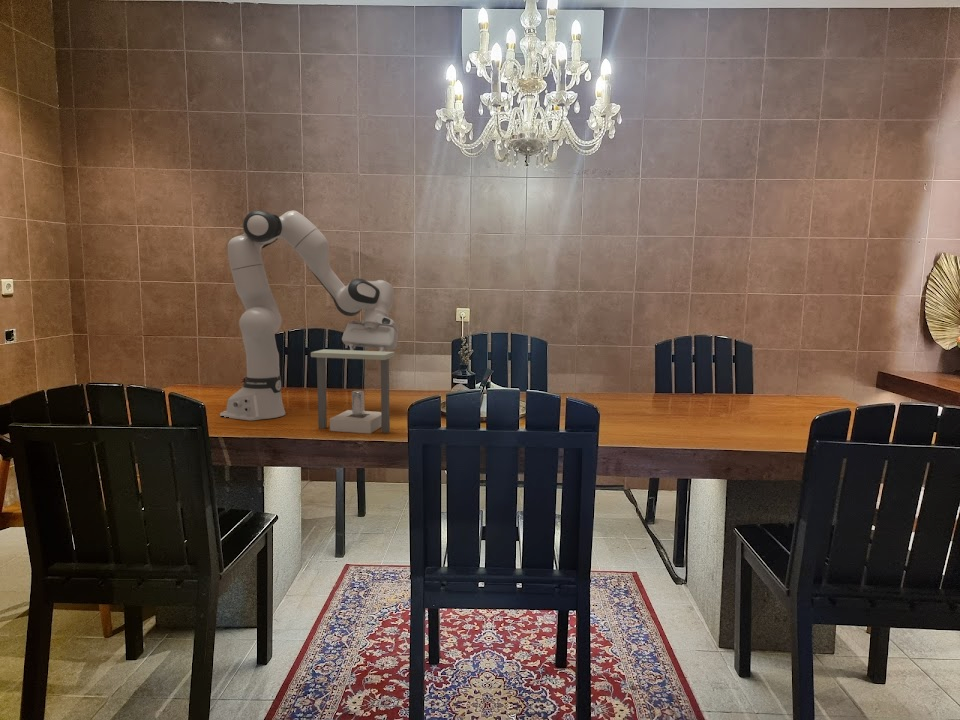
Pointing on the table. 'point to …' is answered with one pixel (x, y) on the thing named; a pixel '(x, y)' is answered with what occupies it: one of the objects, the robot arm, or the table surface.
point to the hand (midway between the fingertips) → (364, 357)
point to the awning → (353, 355)
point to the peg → (358, 404)
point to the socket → (356, 422)
